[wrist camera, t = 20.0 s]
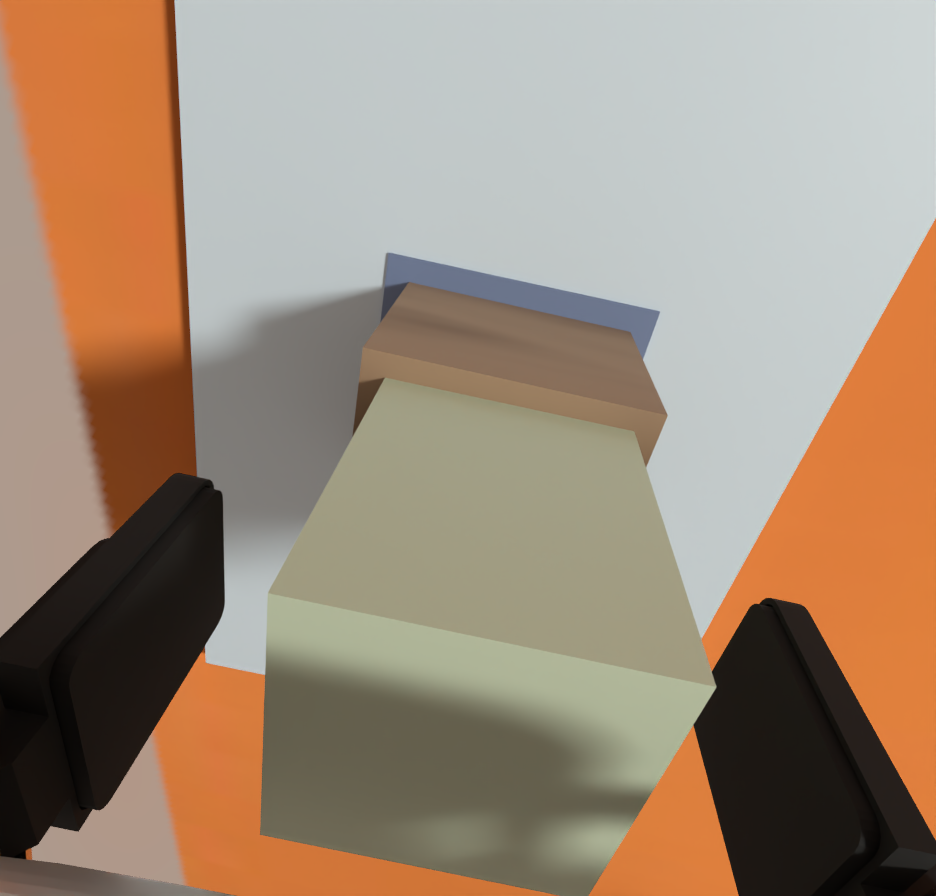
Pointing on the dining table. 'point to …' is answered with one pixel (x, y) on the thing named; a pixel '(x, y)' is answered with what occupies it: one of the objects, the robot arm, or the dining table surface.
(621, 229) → the board
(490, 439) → the sage block
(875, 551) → the dining table surface
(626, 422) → the walnut block
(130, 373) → the dining table surface
